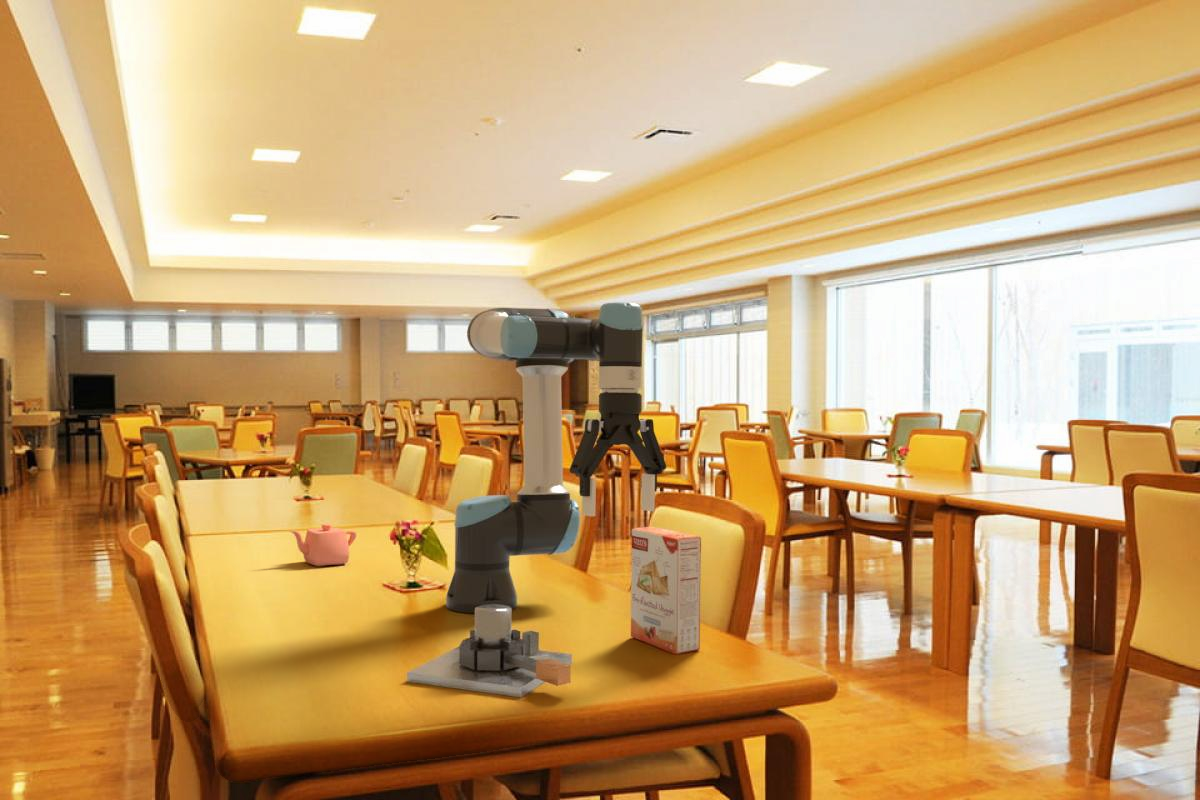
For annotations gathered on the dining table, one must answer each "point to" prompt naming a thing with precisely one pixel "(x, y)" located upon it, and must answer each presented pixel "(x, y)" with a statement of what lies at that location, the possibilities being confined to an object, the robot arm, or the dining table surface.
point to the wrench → (512, 659)
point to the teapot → (325, 545)
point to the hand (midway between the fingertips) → (619, 513)
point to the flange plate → (510, 682)
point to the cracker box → (666, 589)
